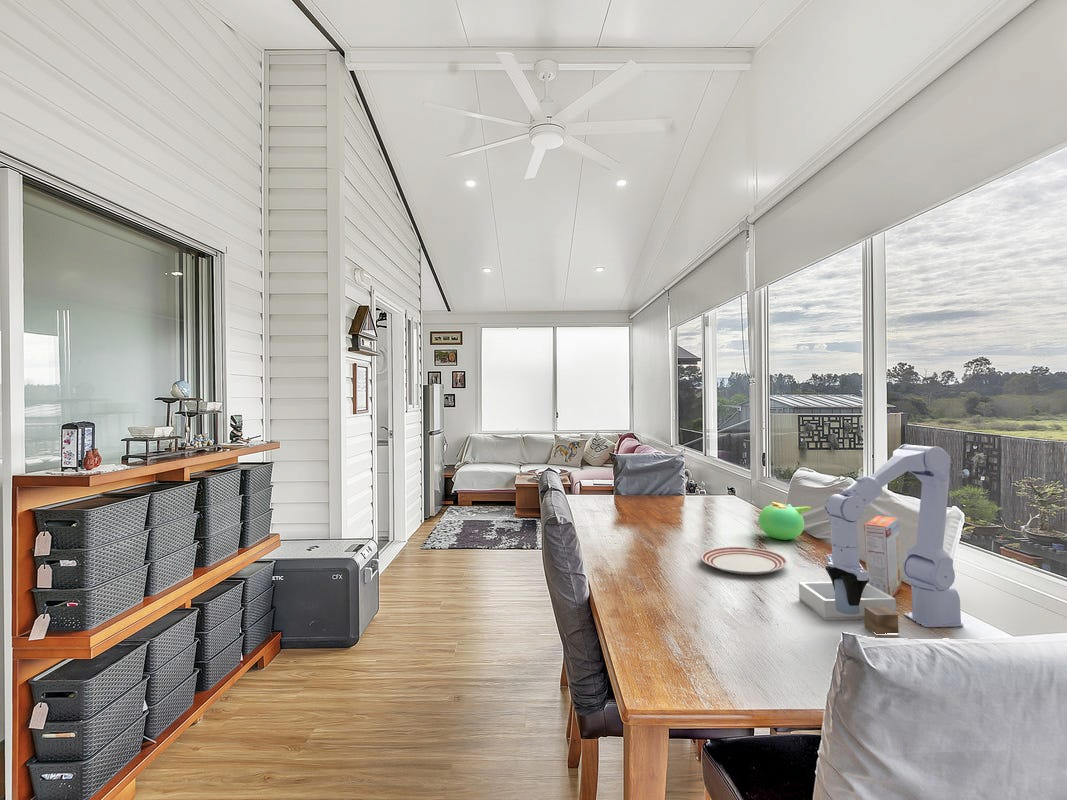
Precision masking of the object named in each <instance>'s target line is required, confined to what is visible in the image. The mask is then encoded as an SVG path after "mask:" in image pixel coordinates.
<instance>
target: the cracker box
mask: <svg viewBox="0 0 1067 800" xmlns="http://www.w3.org/2000/svg"><path fill="white" fill-rule="evenodd" d="M899 527H900V525H899V518H898V517H894V516H893V517H892V516H886V515H885V516H884V515H876V516H875V517H873V518H872V519H870V520H868V521H867V522H866V523H864V524H863V531H864V533H863V537H864V550H865V553H864V554H865V571H866V572H868V578H869V582H868V584H870V585H872V586H874V587H875V588H877V589H879V590H881V591H883V592H884V593H886V594H888V595H890V596H891V597H893V598H895V597H896V595H897V594H898V592H899V591H900V590H901V589H902V572H901V571H902V569H901V568H902V567H901V551H900V530H899Z"/></svg>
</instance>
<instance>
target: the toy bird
mask: <svg viewBox="0 0 1067 800" xmlns="http://www.w3.org/2000/svg"><path fill="white" fill-rule="evenodd" d="M811 509H812V507H811V506H797V507H793V506H792V504H790V503H788V504H784V503H779V502H775V501H771V504H769V505H767V506H765V507H763V508H762V510H761V511H760V513H759V514H758V525H759V527H760V529H761V530H762V531H763V532H764V533H765V534H766V535H767V536H769V537H771V538H774V539H776V540H783V541H784V540H785V541H788V540H792V539H793V540H794V539H796V538H798V537H799V536H800V535H801V534H802V533H803V531H804V529H805V519H804V517H803V515H802V514H803V513H805V512H808V511H809V510H811Z"/></svg>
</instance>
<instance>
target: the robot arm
mask: <svg viewBox="0 0 1067 800" xmlns="http://www.w3.org/2000/svg"><path fill="white" fill-rule="evenodd" d="M950 466H951V456H950V455H949V454H948V452H947V451H946V450H945V449H944V448H942V447H940V446H927V445H925V446H924V445H915V444H913V445H912V444H908V443H904V444H902V445H900V446H899V447H898V448H896V449H895V450H893V451H892V457H890V458H889V459H888V460H886V462H885V463H884V464H883V465H881V466H880V467H879V468H878V469H877V470H876V471H875V472H874V473H872V475H870V476H867V475H864V476H858V477H856V478H855V481H854V482H853V483H852V484H850V485H849V486H848V487H846V488H843V489H842V490H841V492H840V493H835V494H832V495H830V496H829V497H828V498H827V500H826V503H825V505H823V509H824V512H825V513H826V514H827V516H828V522H829V524H830V537H831V538H830V539H831V554H826V556H825V557H826V563H827V566H825V567H824V568H825V571H826V573H827V574H828V576H829V578H830V582H832V584H833V587H834V590H835V584H834V580H835V579H838V578H841V579H842V581H843V583H844V585H845V588H846V593H847V600H848V603H849V605H850V606H859V603H860V600H861V596H862V592H863V590H864V588H865V586H866V584H867V583H868V582H869V578H868V572H866V569H864V568H863V566H862V564H861V563H860V546H859V545H860V544H859V543H860V541H859V523H858V520H860V519H861V518H862V517H863V515H864V511H865V510H866V509H867V507H868V506H869V505H870V504H871V503H873V502H874V501H875V500H876V499H878V498H879V497H880V496H881V495H882V494H883V487H885V486H886V485H888V484H889V483H891V482H893V481H894V480H895V479H897V478H898V477H900V476H902V475H903V474H905V473H906V472H908V473H911V474H913V475H914V476H915V478H917V479H918V480H919V482H921V491H920V492H921V493H920V500H919V501H920V502H919V510H918V511H919V512H918V522H917V534H916V541H915V544H914V545H913V546H910V547H908V548H907V549H906V556H905V558H904V559H903V562H902V571H903V574H904V576H905V577H907V579H908V582H909V583H910V584H911V585H910V586H911V588H910V589H911V591H910V593H911V612H904V613H903V615H904V616H905V617H907V618H909V619H911V620H912V621H913V622H915V621H916V623H917V624H919V625H920V624H921V626H922V627H924V628H944V627H945V628H948V627H949V628H950V627H964V624H963V623H962V622H961V619H962V618H961V599H960V595H959V593H958V591H957V589H956V588H955V587H953V584H954V582H955V579H956V573H955V569H954V559H953V558H952V557H951V556H950V555H949V554H948V552H947V551H945V550H944V541H945V531H946V520H947V509H948V508H947V507H948V500H949V499H948V498H949V489H950V468H951V467H950Z"/></svg>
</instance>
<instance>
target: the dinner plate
mask: <svg viewBox="0 0 1067 800" xmlns="http://www.w3.org/2000/svg"><path fill="white" fill-rule="evenodd" d="M700 559H701V560H702V562H703V563H704V564H706V565H709V566H710V567H713V568H715V569H716V570H717V569H718V570H720V571H723V572H727V573H729V574H730V573H731V574H736V575H743V574H744V576H745V575H746V576H749V575H750V576H754V575H755V576H758V574H759V575H764V574H769V573H774V572H777V571H779V570H781V569H784V568H785V567H786V566H787V565H788V559H787V558H786V556H784V555H783V554H780V553H778V552H775V551H772V550H769V549H763V548H759V547H749V546H724V547H723V546H722V547H717V548H712V549H709V550H706V551H704V552H703V553H702V554H701V556H700Z"/></svg>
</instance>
